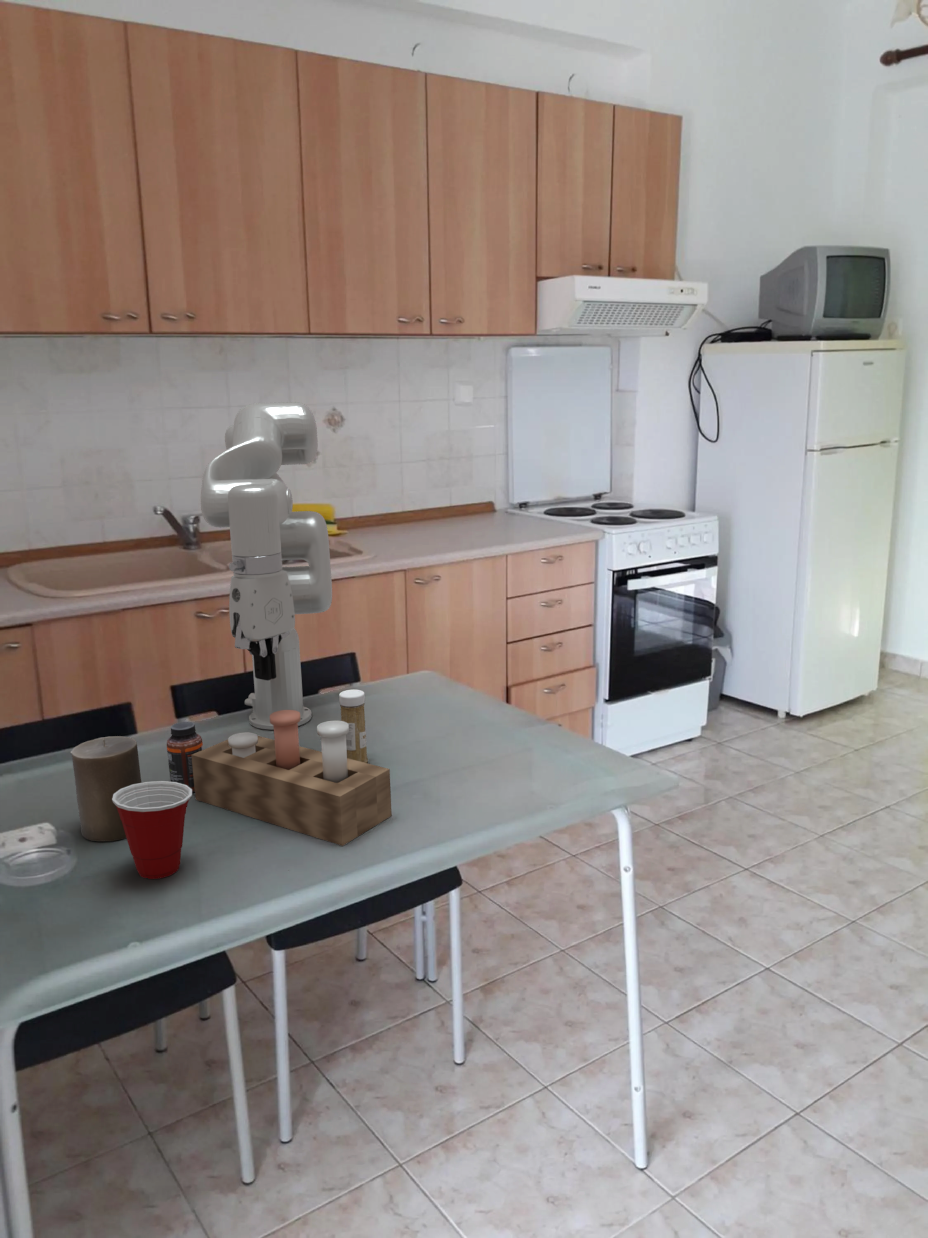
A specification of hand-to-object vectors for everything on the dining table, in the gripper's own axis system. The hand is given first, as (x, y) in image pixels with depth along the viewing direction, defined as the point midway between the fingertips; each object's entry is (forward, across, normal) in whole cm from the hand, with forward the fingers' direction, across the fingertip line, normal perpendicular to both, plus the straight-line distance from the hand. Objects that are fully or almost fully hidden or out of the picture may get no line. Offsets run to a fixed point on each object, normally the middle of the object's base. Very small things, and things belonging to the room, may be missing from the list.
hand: (265, 678), depth 156 cm
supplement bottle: (+22, -3, +18) cm, 28 cm away
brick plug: (+16, +1, -3) cm, 16 cm away
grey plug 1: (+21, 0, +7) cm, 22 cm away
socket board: (+22, +1, -3) cm, 22 cm away
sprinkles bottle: (+22, +20, 0) cm, 30 cm away
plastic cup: (+22, -24, -2) cm, 33 cm away
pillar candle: (+22, -20, +15) cm, 33 cm away
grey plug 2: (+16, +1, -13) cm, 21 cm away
